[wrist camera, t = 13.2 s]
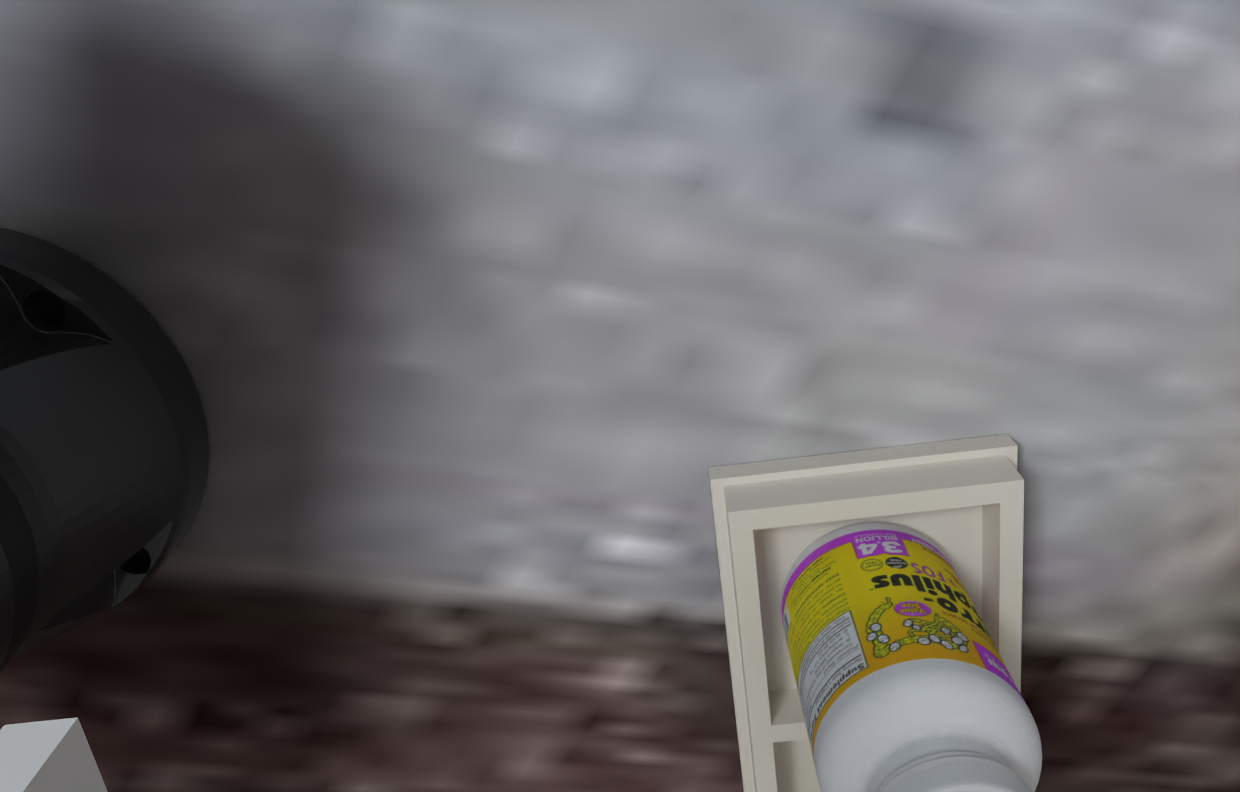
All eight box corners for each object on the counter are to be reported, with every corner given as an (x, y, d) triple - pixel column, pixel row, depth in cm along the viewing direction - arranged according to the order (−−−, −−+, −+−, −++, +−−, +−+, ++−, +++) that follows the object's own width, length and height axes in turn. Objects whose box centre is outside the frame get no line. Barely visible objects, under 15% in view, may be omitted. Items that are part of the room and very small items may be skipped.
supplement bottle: (989, 567, 39) (1146, 828, 27) (881, 689, 41) (983, 981, 29) (846, 482, 38) (944, 717, 26) (741, 613, 40) (789, 885, 28)
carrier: (1003, 848, 46) (1028, 905, 43) (752, 871, 46) (760, 928, 44) (1008, 434, 38) (1037, 470, 35) (708, 467, 39) (714, 506, 36)
